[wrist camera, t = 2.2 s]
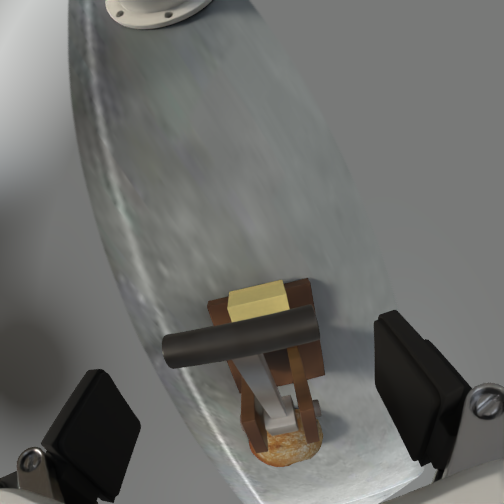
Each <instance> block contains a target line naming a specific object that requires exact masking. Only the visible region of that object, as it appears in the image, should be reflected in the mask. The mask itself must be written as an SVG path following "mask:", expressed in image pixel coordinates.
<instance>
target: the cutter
mask: <svg viewBox="0 0 504 504" xmlns="http://www.w3.org/2000/svg"><path fill="white" fill-rule="evenodd" d="M284 288H285V291H286V295H287V299H288V304H289V308H290V309H293V308H297V307H301V306H305V305H309V304H311V305H312V306H313V308H314V311H315V307H314V301H313V296H312V290H311V285H310V282H309V280H308V278H305V279H301V280H297V281H293V282H289V283H285V284H284ZM228 299H229V297H225V298H221V299H216V300H212V301H208V305H207V308H208V311H209V314H210V316H211V319H212V322H213V325H214V326H217V325H222V324H227V323H232V321H231V318H230V315H229V312H228V309H227V307H228ZM315 314H316V313H315ZM263 355H264V357H265V360H266V362H267V365H268V367H269V369H270V372H271V374H272V376H273V379H274V381H275V383H276V386H282V385H286V384H291V383H294V387H295V392H296V397H297V402H298V407H299V412H300V416H301V420H302V425H303V429H304V433H305V437H306V442H307V444H310V443H314V442H318V441H320V439H319V433H318V427H317V421H316V417H319V416H321V410H320V405H319V401H318V400H313V401H312V398H311V394H310V390H309V386H308V382H307V380H308V379H312V378H316V377H319V376H323V375H325V371H324V364H323V357H322V350H321V344H320V339H319V340H317V341H314V342H310V343H306V344H302V345H298V346H294V347H289V348H285V349H281V350H276V351H272V352H267V353H263ZM227 362H228V365H229V367H230V370H231V373H232V375H233V378H234V380H235V383H236V385H237V388H238V390H239V393H241V415H240V423H241V427H242V430H243V431H245V432H246V434H247V436H248V438H249V440H250V442H251V444H252V446H253V448H254V450H255V452H256V453H262V452H268V439H267V430H266V429H265V422H264V416H263V409H262V405H261V403H260V402H259V400H258V399H257V397H256V396H255V394H254V393H253V391H252V390H251V388H250V387H249V385H248V384H247V382H246V381H245V379H244V378H243V376H242V375H241V373H240V372H239V370H238V369H237V367H236V366H235V364H234V363H233V361H232V360H227Z"/></svg>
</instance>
